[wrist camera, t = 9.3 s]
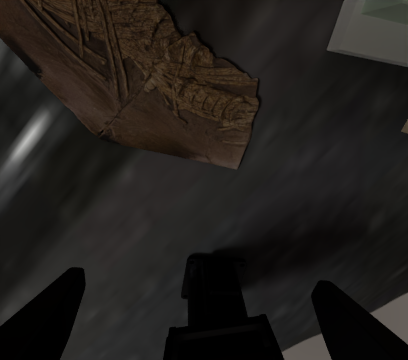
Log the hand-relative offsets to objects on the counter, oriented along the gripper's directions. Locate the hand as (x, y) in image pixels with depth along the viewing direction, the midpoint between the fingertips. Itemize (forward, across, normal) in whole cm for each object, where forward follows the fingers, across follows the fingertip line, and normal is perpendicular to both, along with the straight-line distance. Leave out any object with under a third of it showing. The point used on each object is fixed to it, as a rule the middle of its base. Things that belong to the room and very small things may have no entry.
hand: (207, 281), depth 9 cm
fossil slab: (+13, +7, -7) cm, 16 cm away
